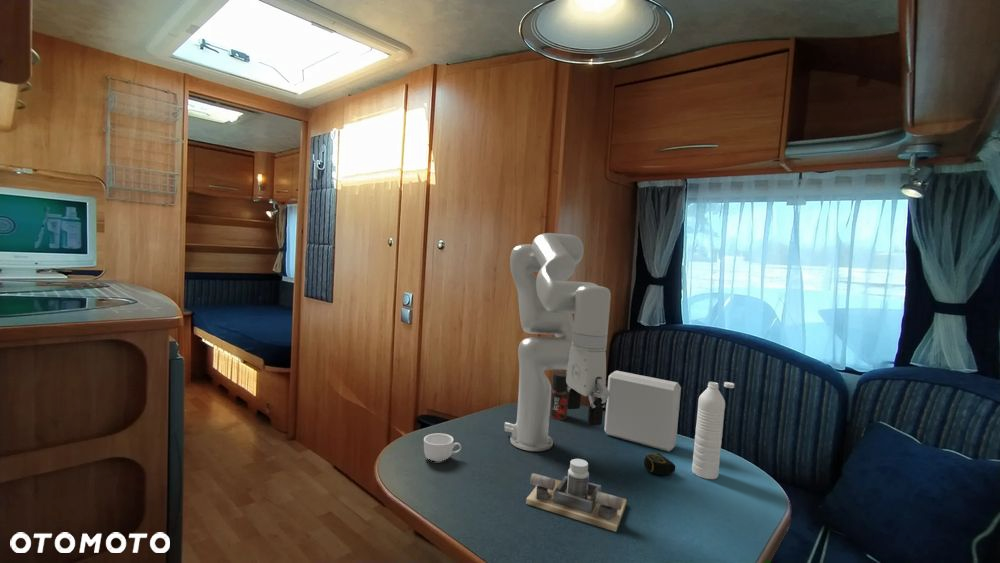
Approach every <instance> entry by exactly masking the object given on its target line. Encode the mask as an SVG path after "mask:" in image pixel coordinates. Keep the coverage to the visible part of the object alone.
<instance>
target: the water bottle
mask: <svg viewBox="0 0 1000 563" xmlns="http://www.w3.org/2000/svg"><path fill="white" fill-rule="evenodd" d="M719 387H720V386H719V383H718V382H714V381H708V384H707V387H706V389H705V390H704V391H703V392H702V393H701V394H700V395H699V397H698V402H697V412H696V423H695V425H696V426H695V435H694V443H693V445H694V447H693V455H692V464H691V472H692V473H693V474H694V475H696V476H697V477H699V478H703V479H705V480H716V479H718V477H719V472H720V468H719V467H720V463H721V462H720V459H721V451H722V448H721V447H722V443H723V442H722V439H723V430H724V421H725V420H724V419H725V409H726V401H725V398H724V396H723V395H722V393H721V391H720V390H719ZM723 387H725V388H728V389H734V388H735V383H734V382H729V381H724V383H723Z"/></svg>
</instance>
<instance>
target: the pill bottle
mask: <svg viewBox="0 0 1000 563" xmlns="http://www.w3.org/2000/svg"><path fill="white" fill-rule="evenodd" d="M569 462H570V464H569V468H568V470H567V476H568V480H567V494H569V495H572V496H576V497H579V498H583V499H586V500H587V496H588V482H589V478H590V472H589V463H588V461H587V460H585V459H582V458H574V459H571V460H570V461H569Z"/></svg>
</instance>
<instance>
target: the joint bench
mask: <svg viewBox="0 0 1000 563" xmlns="http://www.w3.org/2000/svg"><path fill="white" fill-rule="evenodd" d="M567 480H568V475H564V477H563V478H562V479H561V480H560V479H555V478H552V477H548V476H545V475H542V474H538V473H534V472H533V473H531V476H530V478H529V483H530V485H534V486H535V487H534V488H533V490H532V491H531V492H530V494H529V495H528V496H527V497H526V500H525V504H526V505H529V506H532V507H536V508H538V509H542V510H545V511H548V512H550V513H551V512H552V513H554V514H558V515H561V516H564V517H567V518H571V519H572V520H577V521H579V522H583V523H587V524H589V525H591V526H595V527H599V528H603V529H605V530H609V531H612V532H615V533H616V532H617V531H618V528H619V526H620V523H621V519H622V517H623V515H624V512H625V509H626V506H627V498H623V497H620V496H617V495H613V494H609V493H606V492H602V490H601V489H602V485H601V484H596V483H594V482H588V496H587V500H586V499H583V498H579V497H576V496H572V495H569V494H567Z"/></svg>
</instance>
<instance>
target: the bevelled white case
mask: <svg viewBox="0 0 1000 563" xmlns="http://www.w3.org/2000/svg"><path fill="white" fill-rule="evenodd" d="M607 389H608V390H609V393H610V394H609V397H608V399H607V403H606V404H605V415H604V429H603V430H604V432H605V434H606V436H611V437H614V438H619V439H621V440H625V441H628V442H633V443H635V444H640V445H643V446H646V447H650V448H653V449H658V450H661V451H665V452H670V451H672V450H673V449H674V448H675V446H676V444H677V438H678V437H677V436H678V423H679V412H680V403H681V402H680V401H681V393H682V391H681V390H682V387H681V385H680V383H679V382H677V381H671V380H666V379H661V378H656V377H651V376H646V375H640V374H635V373H631V372H625V371H620V370H614V371H613V372H611V373H610V374H609V375H608V379H607Z"/></svg>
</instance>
